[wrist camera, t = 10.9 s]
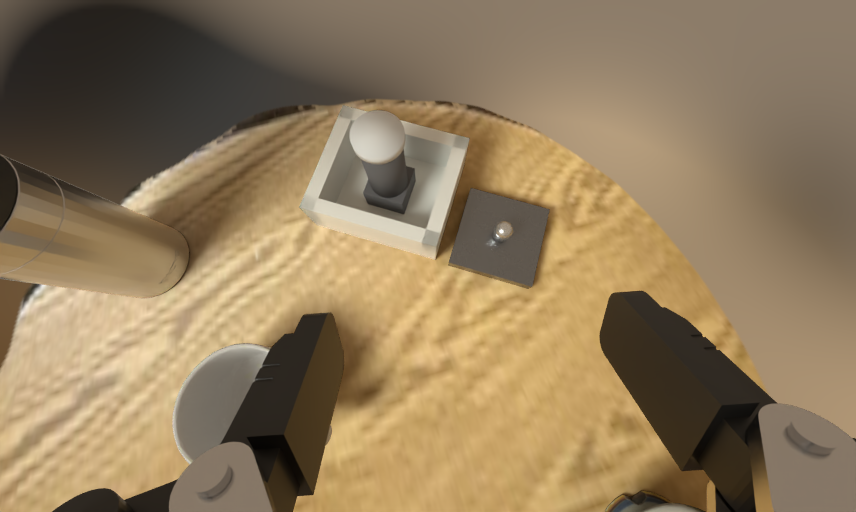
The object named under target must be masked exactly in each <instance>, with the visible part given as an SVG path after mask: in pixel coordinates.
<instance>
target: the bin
mask: <svg viewBox="0 0 856 512" xmlns="http://www.w3.org/2000/svg"><path fill="white" fill-rule="evenodd" d="M366 112H368V111H364V110H360V109H356V108H352V107H348V106H345V105H343V106H342V108H341V111H340V113H339V115H338V118H337V120H336V122H335V125H334V127H333V129H332V132H331V134H330V136H329V139H328V141H327V143H326V146H325V148H324V150H323V153H322V155H321V157H320V160H319V162H318V164H317V167H316V169H315V171H314V174H313V176H312V178H311V181H310V183H309V185H308V188H307V190H306V192H305V195H304V197H303V199H302V202H301V204H300V206H299V208H300V209H301V210H302V211H303V212H304V213H305V214H306V215H307V216H308V217H309V218H310V219H311V220H312V221H313V222H314V223H315V224H316V225H318V226H322V227H325V228H328V229H332V230H335V231H339V232H342V233H345V234H349V235H352V236H356V237H359V238H363V239H366V240H369V241H373V242H376V243H380V244H383V245H386V246H390V247H393V248H397V249H400V250H403V251H407V252H410V253H414V254H417V255H421V256H424V257H427V258H431V259H434V260H435V259H436V256H437V253H438V249H439V246H440V243H441V239H442V236H443V233H444V230H445V226H446V223H447V220H448V217H449V213H450V210H451V207H452V203H453V200H454V197H455V194H456V190H457V187H458V184H459V181H460V177H461V174H462V171H463V167H464V164H465V159H466V154H467V149H468V144H469V139H470V138H467V137H463V136H459V135H455V134H452V133H448V132H444V131H440V130H436V129H433V128H429V127H425V126H421V125H417V124H413V123H410V122H406V121H402V120H400V121H401V122H402V124H403V126H404V131H405V146H404V155H405V162H406V166H408V167H412V168H415V178H416V182H415V185H414V188H413V191H412V193H411V196H410V199H409V202H408V205H407V208H406V211H405V214H401V213H397V212H394V211H390V210H387V209H383V208H380V207H376V206H373V205H369V204H368V203H367V201H366V199H365V197H364V194H363V192H364V189H365V186H366V184H367V181H368V177H367V174H366V172H365V169H364V166H363V164H362V161H361V159H360V158H359V157H358V156H357V155H356V153H355V152H354V149H353V147H352V144H351V142H350V136H349V135H350V129H351V126H352V124H353V123H354V121H355V120H356V119H357V118H358V117H359V116H361V115H362V114H364V113H366Z"/></svg>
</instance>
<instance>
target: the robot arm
mask: <svg viewBox="0 0 856 512" xmlns="http://www.w3.org/2000/svg"><path fill="white" fill-rule="evenodd" d="M188 260H189V248H188V245H187V242H186V240H185V238H184V237H183V235H182V234H181V233H180V232H179V231H177V230H175V229H174V228H172V227H169V226H167V225H165V224H162V223H160V222H158V221H155V220H153V219H151V218H148V217H146V216H144V215H142V214H139V213H137V212H135V211H132V210H130V209H128V208H125V207H123V206H121V205H118V204H116V203H113V202H111V201H109V200H107V199H104V198H102V197H99V196H97V195H95V194H92V193H90V192H88V191H85V190H83V189H81V188H78V187H76V186H74V185H71V184H69V183H67V182H64V181H62V180H60V179H57V178H55V177H52V176H50V175H48V174H45V173H43V172H41V171H38V170H36V169H33V168H31V167H29V166H26V165H24V164H22V163H19V162H17V161H15V160H12V159H10V158H8V157H5V156H3V155H1V154H0V279H7V280H14V281H21V282H28V283H35V284H43V285H50V286H57V287H64V288H72V289H79V290H86V291H93V292H101V293H107V294H114V295H121V296H129V297H136V298H149V297H154V296H157V295H160V294H162V293H164V292H166V291H168V290H169V289H170V288H171V287H173V286H174V285H175V284H176V283H177V282H178V281H179V280H180V278H181V277H182V275H183V274H184V272H185V270H186V267H187V265H188ZM600 344H601V348H602V351H603V353H604V354H605V356H606V358H607V359H608V361H609V362H610V364H611V365H612V367H613V368H614V370H615V371H616V373H617V374H618V376H619V377H620V379H621V380H622V382H623V383H624V385H625V386H626V388H627V389H628V391H629V392H630V394H631V395H632V397H633V398H634V400H635V401H636V403H637V404H638V406H639V407H640V409H641V411H642V412H643V414H644V415H645V417H646V418H647V420H648V421H649V423H650V424H651V426H652V427H653V429H654V430H655V432H656V433H657V435H658V436H659V438H660V439H661V441H662V442H663V444H664V445H665V447H666V448H667V450H668V451H669V453H670V454H671V456H672V457H673V459H674V460H675V462H676V463H677V465H678V466H679V468H680V469H681V471H690V470H704V471H705V472H706V474H707V475H708V477H709V478H710V479H711V480H710V481H709V482H708V485H707V512H856V439H855V438H851V437H850V436H849V435H848V434H847V433H845V432H844V431H842V430H841V429H840V428H839V427H837V426H836V425H834V424H833V423H831V422H829V421H828V420H826V419H824V418H822V417H820V416H818V415H816V414H814V413H812V412H810V411H807V410H805V409H802V408H798V407H795V406H792V405H787V404H778V403H777V402H775V401H774V400H773V399H772V398H771V397H770V396H769V395H768V394H767V393H765V392H764V391H763V390H762V389H761V388H760V387H759V386H758V385H757V384H756V383H755V382H754V381H753V380H751V379H750V378H749V377H748V376H747V375H746V374H745V373H744V372H743V371H742V370H741V369H740V368H738V367H737V366H736V365H735V364H734V363H733V362H732V361H731V360H730V359H729V358H728V357H727V356H725V355H724V354H723V353H722V352H721V351H720V350H716V346H715V345H714V344H712V343H711V342H710V341H709V340H708V339H707V338H706V337H703V336H702V333H701V332H699V331H698V330H697V329H696V328H695V327H694V326H693V325H692V324H691V323H690V322H689V321H688V320H686V319H685V318H683V317H681V316H679V315H678V314H676V313H674V312H672V311H671V310H669V309H667V308H665V307H664V308H662V307H661V306H660V305H659V304H658V303H657V302H656V301H655V300H653V299H652V298H651V297H650V296H649V295H648V294H647V293H646V292H644V291H631V292H617V293H613V294H611V296H610V297H609V300H608V304H607V308H606V312H605V315H604V319H603V323H602V327H601V330H600ZM343 369H344V354H343V349H342V345H341V341H340V338H339V334H338V330H337V327H336V323H335V319H334V316H333V314H332V313H317V314H305V315H303V316H302V318H301V320H300V322H299V324H298V326H297V328H296V330H295V333H292V334H285V335H284V336H283V337H282V338H281V339H280V340H279V341H278V342H277V343H275V344H274V345H273V346H272V347H271V348H270V350H269V352H268V354H267V356H266V358H265V360H264V362H263V364H262V368H260V369H259V371H258V373H257V375H256V377H255V382H253V383H252V385H251V387H250V389H249V391H248V392H247V394H246V396H245V398H244V400H243V402H242V404H241V406H240V408H239V410H238V412H237V414H236V415H235V417H234V419H233V421H232V423H231V425H230V427H229V429H228V431H227V433H226V435H225V436H224V438H223V440H222V442H221V443H220V445H218V446H215V447H213V448H211V449H209V450H208V451H206V452H205V453H203V454H202V455H200V456H199V457H198V458H197V459H195V460H194V461H193V462H192V463H191V464H190V465H189V466H188V467H187V468H186V469H185V471H184V472H183V473H182V474H181V476H180V477H179V479H177V480H175V481H173V482H170V483H168V484H165V485H163V486H160V487H157V488H155V489H152V490H149V491H147V492H144V493H142V494H139V495H136V496H134V497H131V498H129V499H126V500H123V499H122V498H121V497H120V496H119V495H118V494H117V493H115V492H114V491H112V490H111V489H106V488H103V489H95V490H91V491H88V492H85V493H82V494H80V495H78V496H76V497H74V498H72V499H70V500H69V501H67V502H65V503H64V504H62V505H61V506H59V507H58V508H56V509H55V510H54V511H52V512H293V509H294V506H295V502H296V499H297V496H304V495H313V494H314V490H315V486H316V482H317V478H318V473H319V469H320V465H321V461H322V457H323V453H324V449H325V445H326V440H327V436H328V432H329V428H330V424H331V420H332V416H333V411H334V407H335V403H336V399H337V395H338V391H339V387H340V382H341V378H342V374H343Z"/></svg>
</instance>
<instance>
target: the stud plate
mask: <svg viewBox="0 0 856 512" xmlns="http://www.w3.org/2000/svg"><path fill="white" fill-rule="evenodd" d="M549 210H550V209H546V208H543V207H539V206H535V205H532V204H528V203H524V202H521V201H517V200H513V199H510V198H506V197H502V196H499V195H495V194H491V193H488V192H484V191H481V190H477V189H473V188H471V189H470V192H469V196H468V199H467V203H466V206H465V209H464V213H463V216H462V220H461V223H460V226H459V230H458V233H457V237H456V240H455V243H454V247H453V250H452V254H451V257H450V260H449V264H448V265H449V266H452V267H456V268H459V269H463V270H466V271H469V272H473V273H476V274H480V275H483V276H487V277H490V278H493V279H497V280H500V281H504V282H507V283H510V284H514V285H517V286H521V287H524V288H527V289H529V288H531V287H532V285H533V281H534V276H535V272H536V268H537V263H538V259H539V254H540V250H541V245H542V241H543V237H544V232H545V228H546V223H547V219H548V214H549Z"/></svg>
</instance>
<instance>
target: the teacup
mask: <svg viewBox="0 0 856 512" xmlns="http://www.w3.org/2000/svg"><path fill="white" fill-rule="evenodd" d="M270 348H271V347H266V346H262V345H257V344H250V343H243V344H235V345H231V346H228V347H225V348H222V349H220V350H218V351H216V352H214V353H212V354H211V355H209V356H208V357H207V358H205V359H204V360H203V361H202V362H201V363H200V364H199V365H198V366H196V367H195V368H194V370H193V371H192V372H191V373H190V375H189V376H188V377H187V379H186V380H185V381H184V383H183V386H182V387H181V389H180V391H179V394H178V396H177V399H176V402H175V407H174V411H173V433H174V437H175V441H176V444H177V447H178V449H179V450H180V452H181V454H182V456H183V457H184V458H185V460H186V461H187V462H188V463H189V464H191V463H192V462H193V461H194V460H195V459H197V458H198V457H199V456H200V455H202V454H203V453H205V452H206V451H208V450H209V449H211V448H213V447H215V446H218V445H220V443H221V442H222V440H223V438H224V436H225V435H226V433H227V431H228V429H229V427H230V425H231V423H232V421H233V419H234V417H235V415H236V414H237V412H238V410H239V408H240V406H241V404H242V402H243V400H244V398H245V396H246V394H247V392H248V391H249V389H250V387H251V385H252V383H253V382H255V377H256V375H257V373H258V371H259V369H260V368H262V364H263V362H264V360H265V358H266V356H267V354H268V352H269V350H270ZM331 434H332V428H331V425H330V428H329V432H328V436H327V440H326V444H327V443H328V442H329V440H330V437H331Z"/></svg>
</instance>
